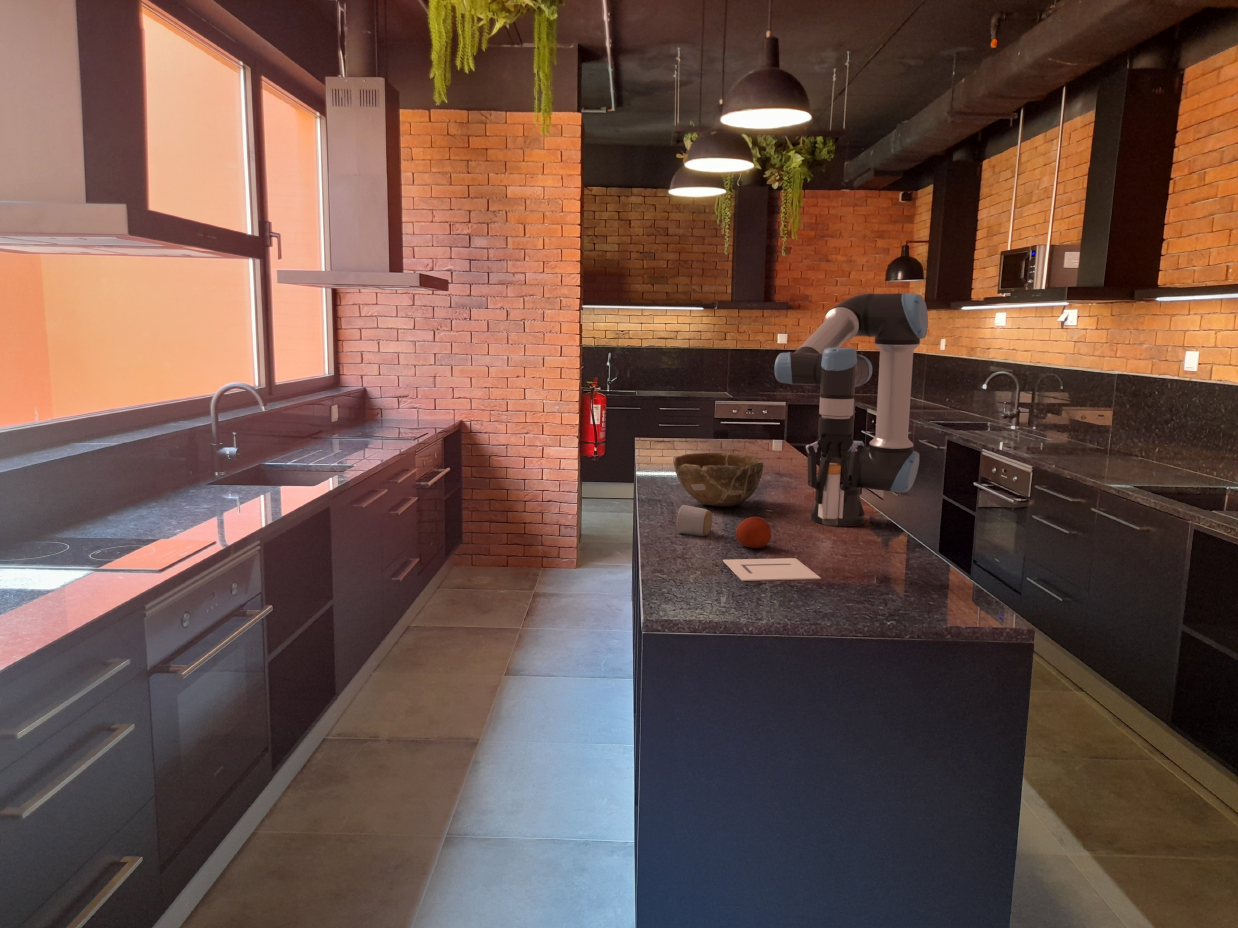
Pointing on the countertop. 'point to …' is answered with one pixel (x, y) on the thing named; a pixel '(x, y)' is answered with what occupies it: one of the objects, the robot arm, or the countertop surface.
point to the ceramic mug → (694, 521)
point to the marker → (832, 494)
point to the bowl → (719, 477)
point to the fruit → (753, 532)
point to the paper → (770, 569)
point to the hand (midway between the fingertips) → (830, 516)
